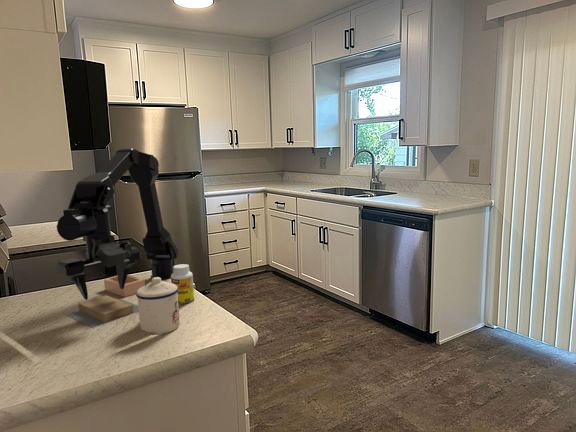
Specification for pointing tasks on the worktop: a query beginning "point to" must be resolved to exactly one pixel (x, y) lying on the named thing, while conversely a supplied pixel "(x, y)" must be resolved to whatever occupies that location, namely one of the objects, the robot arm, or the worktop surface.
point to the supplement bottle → (183, 283)
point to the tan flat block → (106, 308)
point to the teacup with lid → (158, 307)
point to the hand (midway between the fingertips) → (104, 293)
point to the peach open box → (129, 287)
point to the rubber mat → (94, 321)
